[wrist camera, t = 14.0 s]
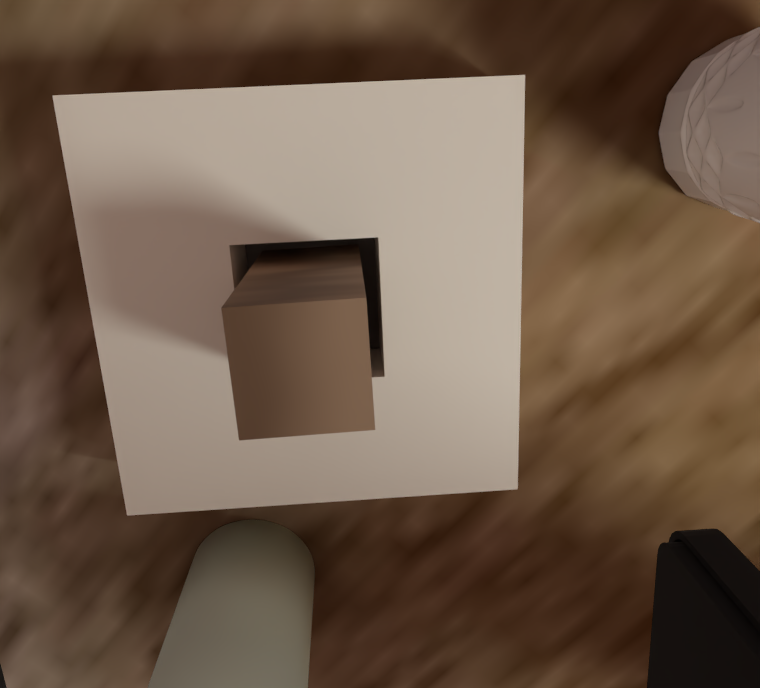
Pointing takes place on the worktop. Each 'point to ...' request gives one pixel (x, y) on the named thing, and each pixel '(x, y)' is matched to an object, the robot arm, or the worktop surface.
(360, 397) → the walnut square peg
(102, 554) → the worktop surface
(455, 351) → the cream socket block
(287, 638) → the sage round peg
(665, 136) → the white cup
